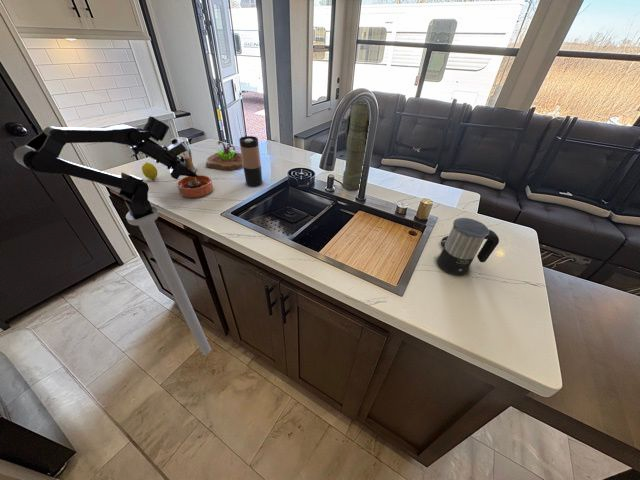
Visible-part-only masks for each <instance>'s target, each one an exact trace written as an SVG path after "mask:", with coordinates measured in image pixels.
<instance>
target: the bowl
mask: <svg viewBox="0 0 640 480" xmlns="http://www.w3.org/2000/svg"><path fill="white" fill-rule="evenodd" d="M196 180H197V181H200V182H201V185H202V187H198V188H190V189H189V186H188V183H189V182H191V180H190V176H183V177H182V178H180V179H178V181H177V182H176V187H177V190H178V192H179V195H181V196H182V197H186V198H190V199H197V198H201V197H205V196H207V195H209V194H210V193H211V192H212V191H213V189H214V186H213V182H212V179H211V177H209V176H208V175H204V174H197V176H196Z"/></svg>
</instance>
